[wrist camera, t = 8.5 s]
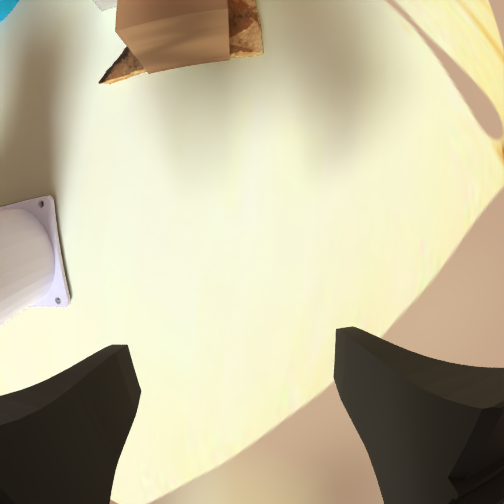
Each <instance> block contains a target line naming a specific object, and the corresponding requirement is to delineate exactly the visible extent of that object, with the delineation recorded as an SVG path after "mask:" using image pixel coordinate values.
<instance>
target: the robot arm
mask: <svg viewBox="0 0 504 504" xmlns="http://www.w3.org/2000/svg"><path fill="white" fill-rule="evenodd" d="M42 201H43V202H44V206H43V207H42ZM58 298H59V299H60V301H61V302H59V301H58ZM70 302H71V300H70V295H69V291H68V286H67V282H66V277H65V272H64V267H63V261H62V256H61V250H60V244H59V237H58V230H57V222H56V214H55V205H54V199H53V197H52V196H43V197H38V198H34V199H30V200H26V201H22V202H18V203H14V204H10V205H7V206H3V207H0V327H1V326H2V325H3V324H5V323H6V322H8V321H9V320H11V319H12V318H14V317H15V316H17V315H18V314H20V313H21V312H23V311H24V310H26V309H27V308H29V307H67V306H68V305H69V304H70ZM334 380H335V383H336V386H337V389H338V392H339V395H340V398H341V400H342V402H343V404H344V406H345V408H346V410H347V412H348V414H349V416H350V418H351V420H352V422H353V424H354V426H355V428H356V430H357V431H358V434H359V435H360V437H361V439H362V441H363V443H364V445H365V447H366V450H367V452H368V454H369V457H370V460H371V463H372V466H373V468H374V471H375V474H376V477H377V480H378V484H379V487H380V491H381V494H382V497H383V501H384V504H504V368H486V367H474V366H467V365H460V364H455V363H449V362H445V361H441V360H437V359H433V358H430V357H426V356H423V355H420V354H417V353H415V352H411V351H409V350H406V349H404V348H402V347H399V346H397V345H394V344H392V343H390V342H388V341H385V340H383V339H381V338H379V337H377V336H374V335H372V334H370V333H368V332H366V331H363V330H361V329H359V328H356V327H346V328H340V329H336V344H335V364H334ZM140 394H141V389H140V386H139V383H138V379H137V376H136V373H135V370H134V366H133V363H132V359H131V356H130V352H129V348H128V345H110V346H108V347H106V348H104V349H102V350H100V351H98V352H96V353H94V354H93V355H91V356H89V357H87V358H86V359H84V360H82V361H81V362H79V363H77V364H75V365H74V366H72V367H70V368H68V369H66V370H64V371H63V372H61V373H59V374H57V375H55V376H53V377H51V378H49V379H47V380H45V381H43V382H40V383H38V384H36V385H33V386H31V387H28V388H25V389H23V390H19V391H16V392H13V393H9V394H6V395H2V396H0V504H109V503H110V496H111V490H112V485H113V480H114V475H115V470H116V467H117V464H118V460H119V457H120V455H121V452H122V449H123V447H124V444H125V442H126V439H127V436H128V434H129V431H130V429H131V426H132V423H133V421H134V418H135V416H136V412H137V408H138V404H139V399H140Z"/></svg>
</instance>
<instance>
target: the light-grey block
mask: <svg viewBox="0 0 504 504" xmlns="http://www.w3.org/2000/svg"><path fill="white" fill-rule="evenodd" d="M93 1H94V2H95V3H96V5H97V6H98V7H99V8H100V9H101V11H104V10H108V9H111V8H114V7H117V0H93Z"/></svg>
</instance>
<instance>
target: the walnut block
mask: <svg viewBox="0 0 504 504" xmlns="http://www.w3.org/2000/svg"><path fill="white" fill-rule="evenodd" d="M115 32H116V33H117V34H118V35H119V37H120V38H121V39H122V40H123V42H124V43H125V44H126V45H127V47H128V48H129V49H130V51H131V52H132V53H133V54H134V56H135V57H136V58H137V59H138V61H139V62H140V63H141V65H142V66H143V67H144V68H145V70H146V71H147V72H148V73H149V74H150V73H154V72H159V71H164V70H168V69H174V68H179V67H184V66H190V65H196V64H203V63H210V62H217V61H225V60H230V50H229V21H228V4H227V0H117V11H116V27H115Z"/></svg>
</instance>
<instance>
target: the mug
mask: <svg viewBox="0 0 504 504" xmlns="http://www.w3.org/2000/svg"><path fill="white" fill-rule="evenodd" d="M18 1H19V0H0V22H1V21H2V20H4V18H5V17H6V16H7V15H8V14H9V13H10V12H11V10H12V9H13V8H14V7H15V5H16V4H17V3H18Z"/></svg>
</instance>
